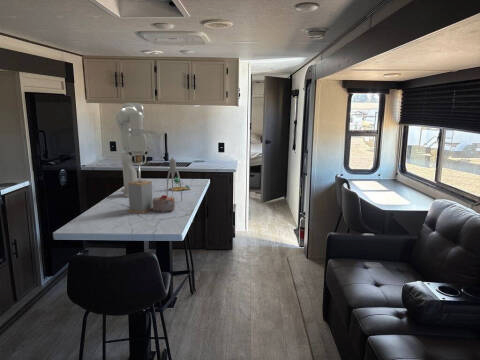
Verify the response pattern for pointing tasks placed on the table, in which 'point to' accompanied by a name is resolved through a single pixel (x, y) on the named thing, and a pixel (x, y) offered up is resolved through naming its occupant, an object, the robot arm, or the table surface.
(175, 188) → the frog figurine
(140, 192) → the beige tall block
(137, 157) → the knob
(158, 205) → the food item
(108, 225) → the table surface
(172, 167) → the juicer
